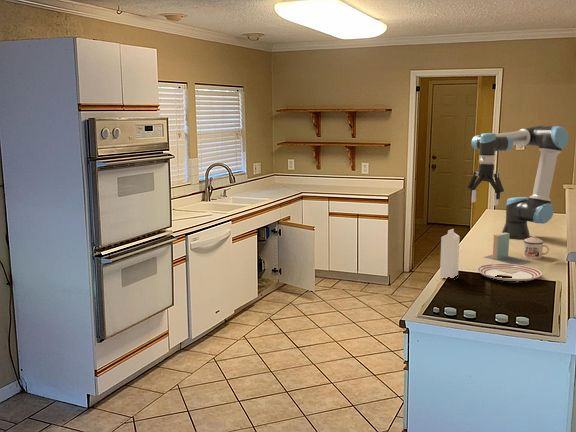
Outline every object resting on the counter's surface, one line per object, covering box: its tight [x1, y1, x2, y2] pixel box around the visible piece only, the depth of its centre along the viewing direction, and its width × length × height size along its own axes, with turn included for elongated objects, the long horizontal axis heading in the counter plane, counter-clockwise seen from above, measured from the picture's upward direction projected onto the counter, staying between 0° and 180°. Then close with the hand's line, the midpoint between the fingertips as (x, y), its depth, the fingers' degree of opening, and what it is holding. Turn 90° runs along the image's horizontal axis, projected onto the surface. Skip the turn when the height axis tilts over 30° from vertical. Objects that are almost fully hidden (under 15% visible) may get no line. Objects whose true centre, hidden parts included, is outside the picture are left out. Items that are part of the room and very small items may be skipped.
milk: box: [439, 228, 461, 278], centre depth 261 cm, size 6×6×22 cm
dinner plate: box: [476, 263, 543, 283], centre depth 263 cm, size 27×27×3 cm
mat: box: [483, 254, 534, 266], centre depth 290 cm, size 20×12×1 cm, turn 35°
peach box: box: [492, 232, 510, 260], centre depth 292 cm, size 2×9×12 cm, turn 125°
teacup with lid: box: [522, 235, 550, 260], centre depth 292 cm, size 12×9×12 cm
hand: (484, 203), depth 308 cm, fingers open, 13 cm apart
